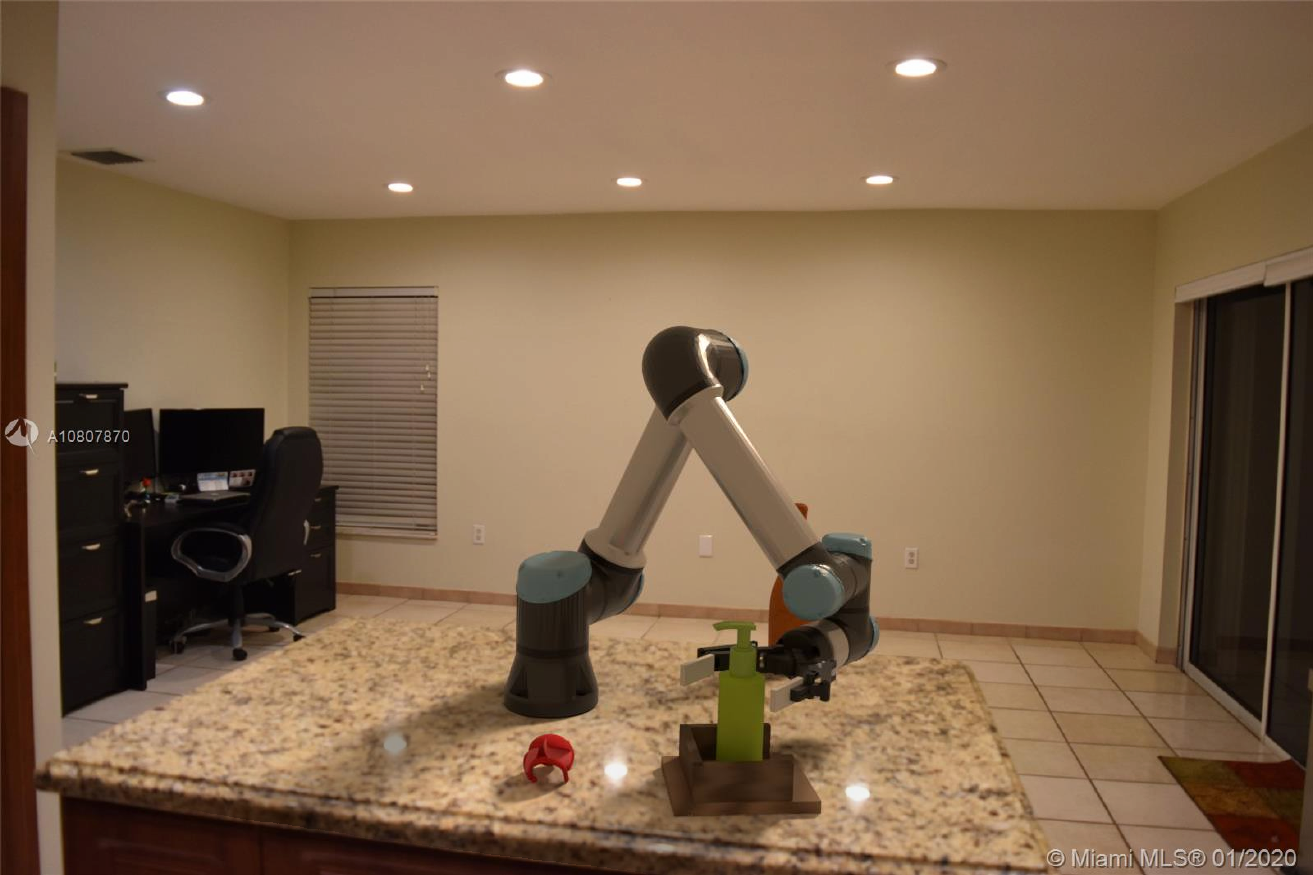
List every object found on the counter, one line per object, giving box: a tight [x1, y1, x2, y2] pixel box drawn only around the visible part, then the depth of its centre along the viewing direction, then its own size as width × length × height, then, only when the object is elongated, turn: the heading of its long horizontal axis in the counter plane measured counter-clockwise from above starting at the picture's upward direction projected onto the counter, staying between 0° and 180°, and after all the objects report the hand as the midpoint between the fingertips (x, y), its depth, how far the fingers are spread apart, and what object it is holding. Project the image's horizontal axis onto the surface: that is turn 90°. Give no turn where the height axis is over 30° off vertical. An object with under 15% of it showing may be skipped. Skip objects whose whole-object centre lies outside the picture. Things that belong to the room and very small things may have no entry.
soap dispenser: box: [711, 620, 766, 762], centre depth 116 cm, size 6×7×20 cm
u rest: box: [660, 722, 822, 818], centre depth 116 cm, size 18×14×6 cm
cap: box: [522, 733, 576, 784], centre depth 118 cm, size 8×6×6 cm
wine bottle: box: [767, 502, 813, 646], centre depth 169 cm, size 10×10×30 cm
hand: (725, 687), depth 112 cm, fingers open, 13 cm apart
